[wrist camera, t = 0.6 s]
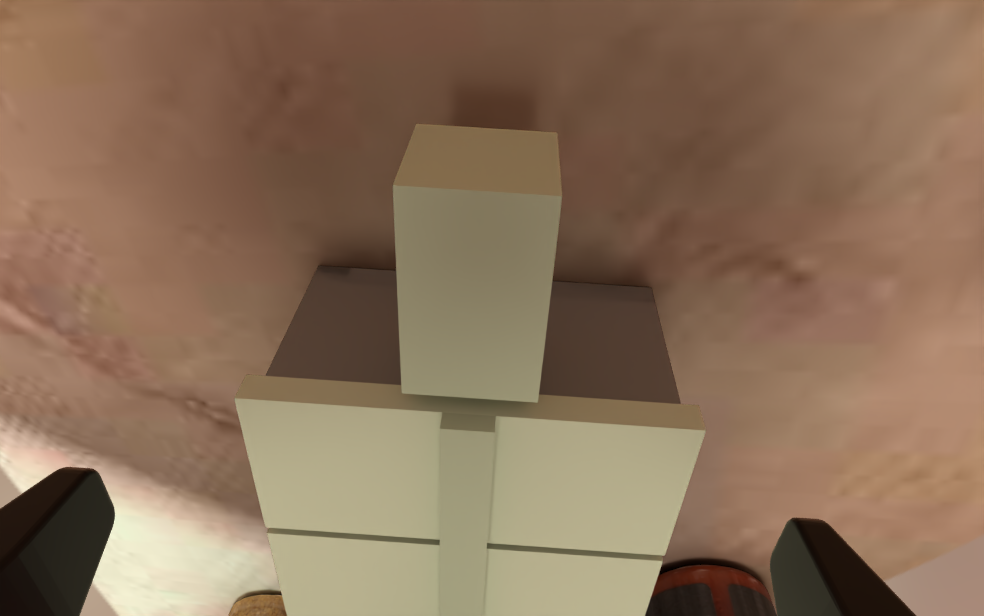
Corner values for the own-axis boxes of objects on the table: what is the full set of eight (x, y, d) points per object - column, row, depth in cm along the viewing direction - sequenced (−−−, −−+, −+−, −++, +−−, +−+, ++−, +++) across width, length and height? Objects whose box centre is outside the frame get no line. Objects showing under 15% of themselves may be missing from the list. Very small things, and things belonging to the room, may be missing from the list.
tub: (589, 562, 28) (599, 686, 24) (352, 546, 29) (323, 666, 24) (651, 287, 20) (681, 404, 16) (318, 265, 20) (264, 376, 16)
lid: (601, 639, 26) (610, 739, 23) (328, 619, 26) (303, 716, 23) (737, 143, 14) (787, 223, 11) (238, 112, 14) (166, 184, 12)
